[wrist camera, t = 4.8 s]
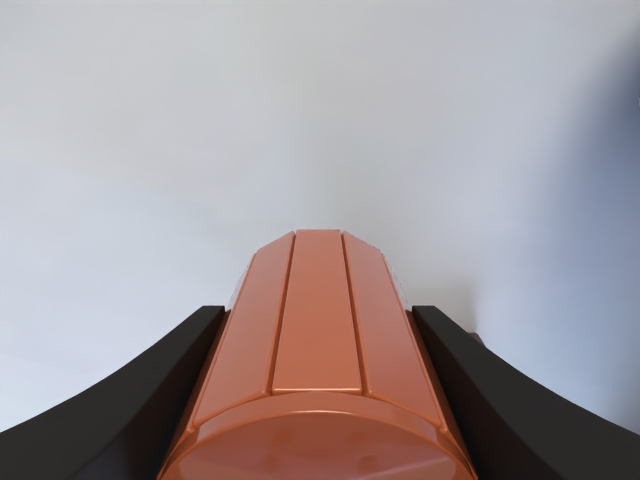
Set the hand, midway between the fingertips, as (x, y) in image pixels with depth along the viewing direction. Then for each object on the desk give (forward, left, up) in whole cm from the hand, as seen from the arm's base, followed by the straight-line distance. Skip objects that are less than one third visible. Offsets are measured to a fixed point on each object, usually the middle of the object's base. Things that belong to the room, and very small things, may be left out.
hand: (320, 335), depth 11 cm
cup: (0, 0, -2) cm, 2 cm away
